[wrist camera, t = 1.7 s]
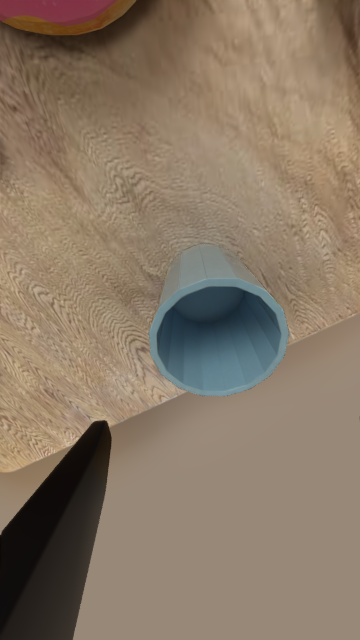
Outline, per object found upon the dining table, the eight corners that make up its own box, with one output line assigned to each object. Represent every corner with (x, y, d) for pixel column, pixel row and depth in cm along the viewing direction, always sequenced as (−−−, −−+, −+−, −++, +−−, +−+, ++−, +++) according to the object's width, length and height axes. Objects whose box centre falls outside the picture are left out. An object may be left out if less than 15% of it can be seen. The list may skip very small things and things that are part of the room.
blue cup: (253, 243, 19) (302, 278, 11) (243, 323, 22) (275, 397, 14) (162, 243, 19) (144, 278, 11) (165, 323, 22) (153, 395, 14)
